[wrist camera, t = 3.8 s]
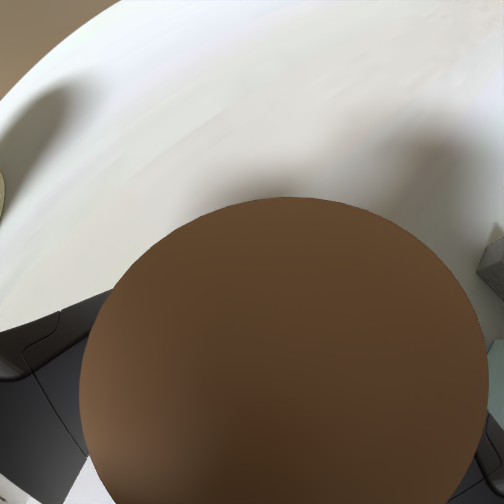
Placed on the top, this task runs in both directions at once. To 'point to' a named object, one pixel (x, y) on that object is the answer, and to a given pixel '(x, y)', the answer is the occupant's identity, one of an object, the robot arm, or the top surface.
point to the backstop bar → (493, 267)
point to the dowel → (285, 364)
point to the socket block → (496, 381)
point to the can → (2, 192)
